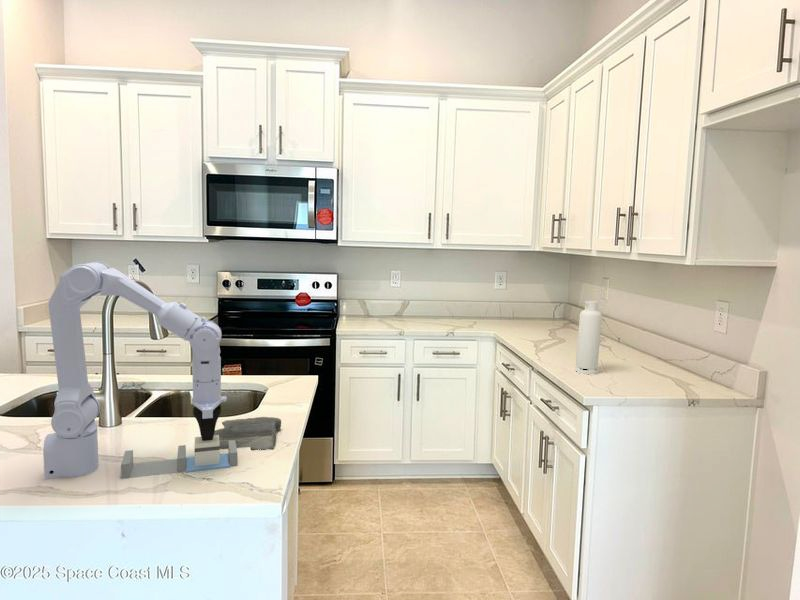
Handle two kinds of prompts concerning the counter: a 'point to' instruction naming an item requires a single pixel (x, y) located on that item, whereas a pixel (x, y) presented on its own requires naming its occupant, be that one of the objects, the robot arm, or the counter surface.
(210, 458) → the block
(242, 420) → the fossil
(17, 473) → the counter surface
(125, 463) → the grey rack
